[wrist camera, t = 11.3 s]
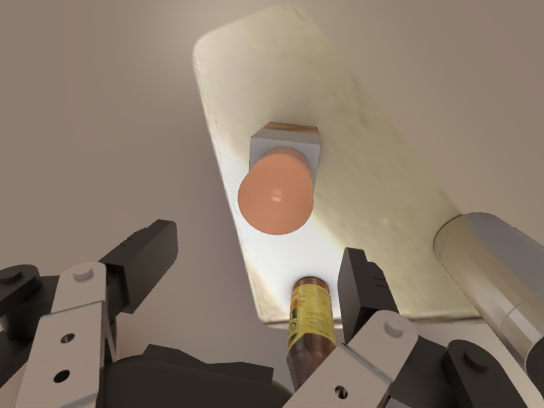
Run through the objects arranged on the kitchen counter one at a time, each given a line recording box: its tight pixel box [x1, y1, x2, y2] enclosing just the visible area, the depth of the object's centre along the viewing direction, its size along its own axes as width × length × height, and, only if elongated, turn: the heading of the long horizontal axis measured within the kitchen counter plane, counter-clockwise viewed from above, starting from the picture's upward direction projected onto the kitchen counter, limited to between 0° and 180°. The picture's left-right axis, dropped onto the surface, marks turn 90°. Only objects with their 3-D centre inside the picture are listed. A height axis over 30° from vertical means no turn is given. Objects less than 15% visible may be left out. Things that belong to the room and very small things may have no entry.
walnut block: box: [263, 122, 318, 134], centre depth 31 cm, size 6×6×6 cm
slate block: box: [249, 128, 321, 192], centre depth 26 cm, size 6×6×6 cm
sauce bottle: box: [287, 278, 336, 393], centre depth 34 cm, size 7×6×20 cm
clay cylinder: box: [238, 146, 313, 235], centre depth 21 cm, size 5×5×6 cm
